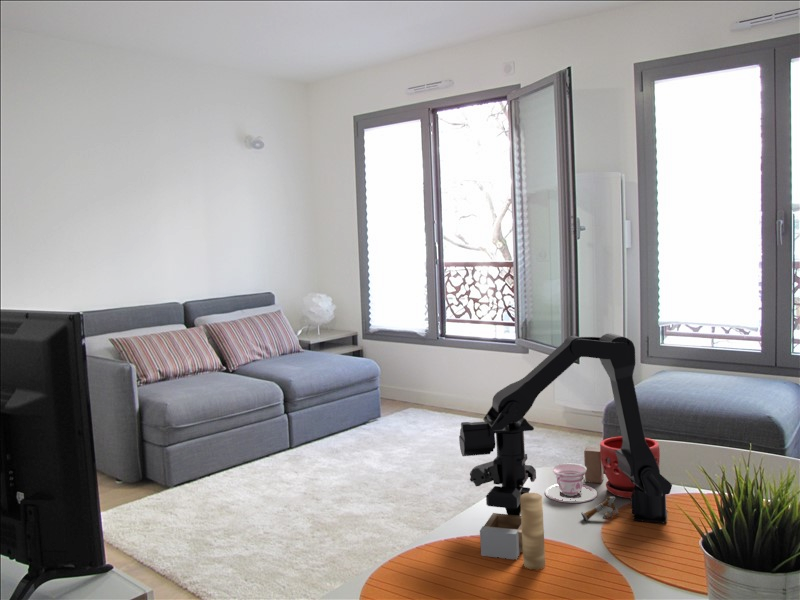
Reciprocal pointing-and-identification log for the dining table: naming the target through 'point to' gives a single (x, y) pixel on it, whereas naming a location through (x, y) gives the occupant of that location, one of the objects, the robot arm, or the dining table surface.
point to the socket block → (507, 524)
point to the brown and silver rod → (601, 507)
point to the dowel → (532, 530)
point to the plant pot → (615, 476)
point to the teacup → (570, 481)
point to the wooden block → (593, 465)
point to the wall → (499, 542)
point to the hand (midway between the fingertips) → (514, 525)
